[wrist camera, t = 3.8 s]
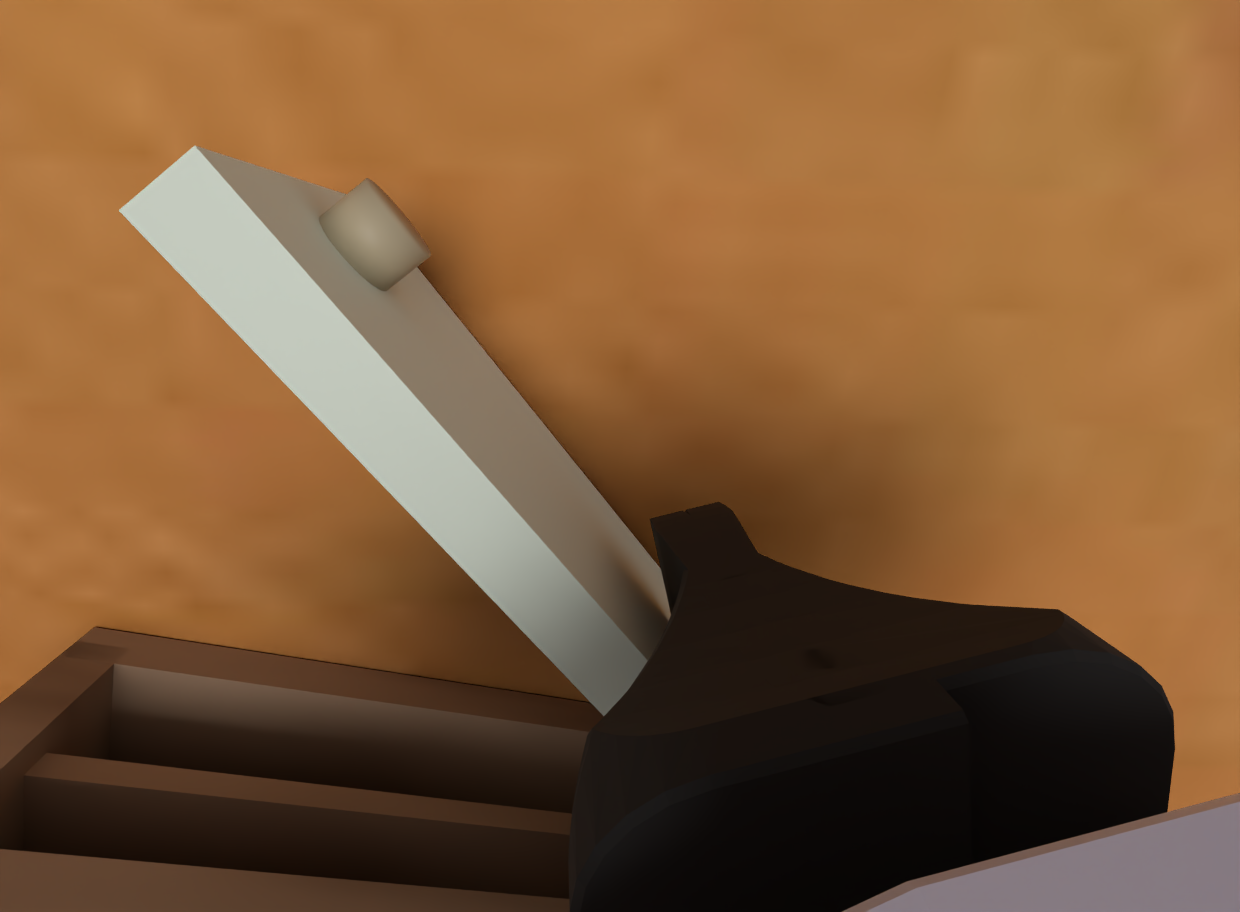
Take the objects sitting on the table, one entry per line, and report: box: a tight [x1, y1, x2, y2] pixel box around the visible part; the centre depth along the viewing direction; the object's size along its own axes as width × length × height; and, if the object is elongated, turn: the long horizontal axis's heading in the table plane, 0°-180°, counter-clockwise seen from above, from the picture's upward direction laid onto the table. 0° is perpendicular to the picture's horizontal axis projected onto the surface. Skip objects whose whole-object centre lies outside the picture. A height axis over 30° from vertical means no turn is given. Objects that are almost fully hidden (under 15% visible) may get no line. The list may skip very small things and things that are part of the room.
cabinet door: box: [119, 146, 671, 716], centre depth 11 cm, size 2×15×6 cm, turn 35°
